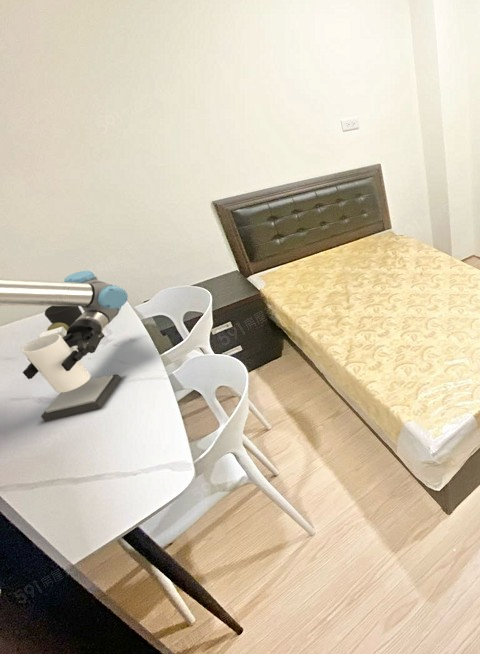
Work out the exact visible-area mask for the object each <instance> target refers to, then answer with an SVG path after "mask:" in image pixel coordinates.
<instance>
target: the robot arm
mask: <svg viewBox="0 0 480 654" xmlns="http://www.w3.org/2000/svg"><path fill="white" fill-rule="evenodd" d="M128 297H129V295H128V293H127V291H126V290H125V289H124V288H122V287H120V286H118V285H116V284H110V283H107V282H104V281H101V280H99V278H98V276H96V275H95V274H94V272H93V271H91V270H81V271H77V272H74V273H71V274H68V275H67V276H66V277H65V278H64V280H63V281H51V280H35V279H33V280H32V279H14V278H12V279H11V278H0V306H7V307H8V306H9V307H10V306H12V307H13V306H14V307H15V306H16V307H17V306H18V307H19V306H20V307H21V306H23V307H25V306H26V307H36V306H37V307H51V306H78V307H81V308H82V310H83V311H84V312H82V315H81V316H80V317H79V318H78V319H77V320H76V321H75V322H74V323H73V324H72V325H71V326H70V327H69V328H68V330H67V334H66V335H65V336H64V337H62V338H63V340H64V341H65V342H66V344H67V345H68V346H69V347H70V348H71V347H73V346H78V347H77V350H78V352H77V350H75V351H73V352H72V353H71V354H70V355H69V356H68V357H67V358H66V359H65V361H64V362H63V363H62V364H61V365H62V366H63V368H64V369H65V370H66V371H70V369H71V368H72V367H73V366H74V365H75V364H76V363H77V361H80V360H82V359H83V357H84V356H87V355H88V354H94V353H95V352H96V351H97V349H98V346H99V344H100V343H101V341H102V339H104V338H105V337H106V336H105V334H104V333H103V330H105V329H106V328H107V326H108V325H109V324H110V323H111V322H113V320H114V319H115V318H116V317H117V316H118V315H119V313H120V311H121V309H122V307H123V306H124V305H126V303H127V302H128V299H129V298H128ZM27 360H28V361H29V362H30V363H29V364H28V365H27V366H26V368H25V369H24V370H23V371H22V374H23V375H24V376H25V378H27V379H28V380H31V379H33V378H34V377H35V376H36V375H37V374H38V373H40V372H39V371H38V370H37V368H36V367H35V366H34V365H33V364H32V362H31V361H30V360H29V359H28V358H27Z"/></svg>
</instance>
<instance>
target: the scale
mask: <svg viewBox="0 0 480 654" xmlns="http://www.w3.org/2000/svg"><path fill="white" fill-rule="evenodd" d="M122 380H123V379H122V377H121V376H120V374H119V373H116V374H109V375H105V376H100V377H96V378H90V379H89V380H88V381H87V382H86V383H85V384H83V385H82V386H80V387H78V388H76V389H73V390H71V391H67V392H62V393H59V394H58V395H57V396H56V398H55V399H54V400H53V401H52V402H51V403H50V405H49V406H48V407H47V408H46V409H45V410H44V412H42V414H41V416H40V417H41V420H43V421H44V422H49V421H54V420H59V419H62V418H67V417H71V416H75V415H76V416H77V415H79V414H84V413H89V412H92V411H96V410H101V409H102V408H103V407H104V405H105V404H106V402H107V401H108V399H109V398H110V396H111V395H112V393H113V392H114V391H115V389H116V388H117V386H118V385H119V383H120V382H121V381H122Z"/></svg>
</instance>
